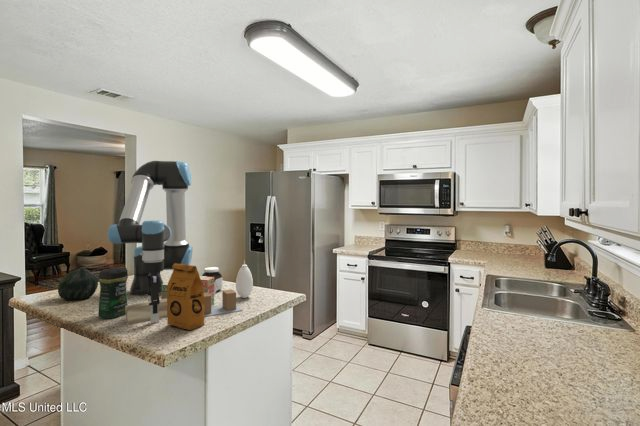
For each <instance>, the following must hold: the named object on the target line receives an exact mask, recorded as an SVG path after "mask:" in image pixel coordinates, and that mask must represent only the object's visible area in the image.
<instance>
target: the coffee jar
mask: <svg viewBox="0 0 640 426" xmlns="http://www.w3.org/2000/svg"><path fill="white" fill-rule="evenodd" d="M128 272H129V271H128V269H127V267H121V266H116V267H110V268H107V269H101V270H100V271H99V273H98V284H99V286H100V287H99V288H100V289H99V290H100V291H99V302H98V303H99V305H98V312H97V313H98V314H97V316H98V317H99V318H101V319H104V320H106V319H114V318H118V317H120V316H123V315H125V306H127V305H128V295H127V281H128V277H129V275H128Z"/></svg>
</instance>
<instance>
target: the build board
mask: <svg viewBox="0 0 640 426" xmlns="http://www.w3.org/2000/svg"><path fill="white" fill-rule="evenodd" d="M204 302H205V310H204V318H205V317H211V316H218V315H219V316H220V315H224V314H225V315H226V314H230V313H237V312H242V311H243V309H242V308H241V307H240V306H238V304H237V291H235V290H234V289H225V290H222V303H221V304H222V305H219V306H218V305H217V306H211V295H210V294H209V293H208V292H207V293H204Z"/></svg>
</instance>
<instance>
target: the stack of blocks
mask: <svg viewBox="0 0 640 426" xmlns="http://www.w3.org/2000/svg"><path fill="white" fill-rule="evenodd" d="M199 276H200V279H201V282H202V285H203V293H207V292H208V293H209V294H210V295H211V307H213V305H215V293H214V277H207V276H202V275H199ZM168 282H169V281H168ZM168 282H165V283H163V284H162V285H161V292H160V293H161V295H160V296H161V297H160V300H161V299H167V285H168Z"/></svg>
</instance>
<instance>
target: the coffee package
mask: <svg viewBox="0 0 640 426" xmlns="http://www.w3.org/2000/svg"><path fill="white" fill-rule="evenodd" d="M172 268H174V270H172V273H171V275H170V278H169V280H168V285H167V316H166V317H167V319H166V320H167V322H166V323H167V325H169V326H173V327H177V328H179V329H184V330H188V331H192V330H196V329H197V328H201V327H203V326H205V317H204V310H205V302H204V293H203V285H202V282H201V279H200V276H201V275H200V273H199V270H198V268H197V266H196V265H192V264H190V265H184V264H174V265H173V266H172Z"/></svg>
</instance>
